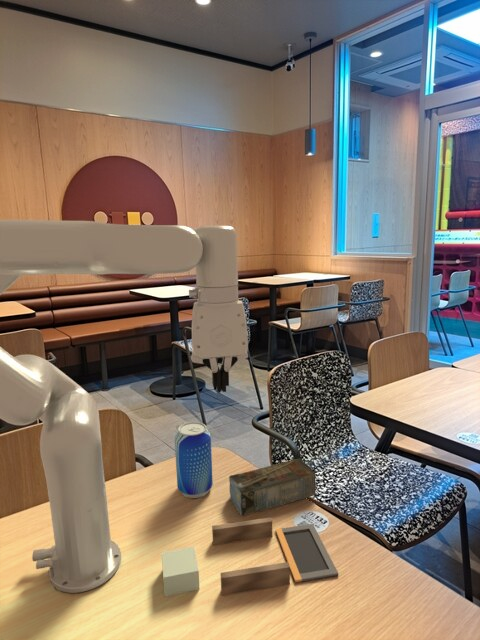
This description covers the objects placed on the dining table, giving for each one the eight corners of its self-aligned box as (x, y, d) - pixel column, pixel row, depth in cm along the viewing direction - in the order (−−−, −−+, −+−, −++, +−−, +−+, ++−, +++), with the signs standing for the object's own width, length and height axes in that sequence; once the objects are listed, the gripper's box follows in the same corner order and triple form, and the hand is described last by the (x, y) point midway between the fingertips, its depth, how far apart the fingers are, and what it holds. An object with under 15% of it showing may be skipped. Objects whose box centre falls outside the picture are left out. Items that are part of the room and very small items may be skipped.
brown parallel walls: (222, 595, 74) (221, 578, 74) (212, 541, 87) (212, 525, 86) (289, 584, 76) (289, 567, 76) (270, 532, 89) (270, 517, 89)
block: (164, 597, 75) (163, 577, 74) (162, 571, 80) (161, 552, 79) (199, 590, 76) (198, 570, 75) (195, 564, 82) (194, 546, 81)
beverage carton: (228, 497, 102) (227, 471, 100) (300, 479, 108) (301, 454, 107) (240, 518, 94) (240, 490, 93) (317, 496, 101) (318, 471, 100)
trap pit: (295, 583, 77) (295, 580, 76) (275, 531, 89) (275, 529, 89) (338, 575, 78) (338, 572, 78) (312, 526, 91) (312, 523, 91)
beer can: (183, 504, 99) (179, 439, 96) (173, 484, 107) (169, 424, 103) (218, 494, 102) (215, 431, 99) (205, 476, 110) (203, 417, 106)
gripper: (177, 300, 74) (182, 400, 78) (262, 296, 77) (263, 393, 81) (175, 293, 82) (180, 386, 86) (253, 290, 84) (254, 379, 88)
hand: (220, 389), depth 83 cm, fingers closed
